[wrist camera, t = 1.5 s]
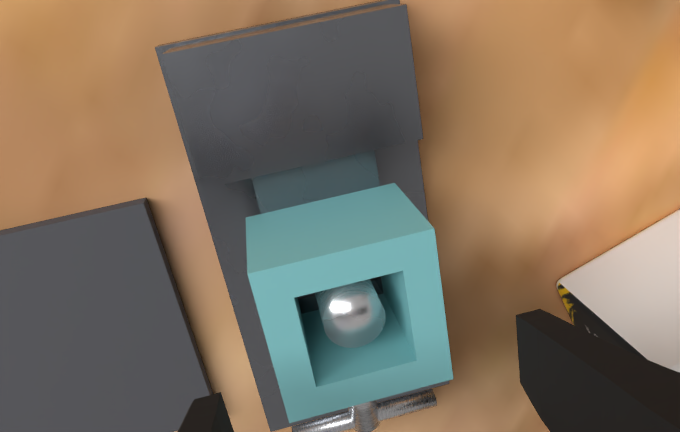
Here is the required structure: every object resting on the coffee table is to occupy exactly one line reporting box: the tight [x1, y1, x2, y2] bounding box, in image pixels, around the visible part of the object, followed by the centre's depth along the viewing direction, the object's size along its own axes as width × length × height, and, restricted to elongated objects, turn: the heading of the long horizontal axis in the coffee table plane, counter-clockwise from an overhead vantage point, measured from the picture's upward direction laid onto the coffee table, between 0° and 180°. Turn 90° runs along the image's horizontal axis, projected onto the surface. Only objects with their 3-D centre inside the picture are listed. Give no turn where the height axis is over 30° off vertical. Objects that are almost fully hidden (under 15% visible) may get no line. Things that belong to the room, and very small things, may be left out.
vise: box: [155, 0, 449, 432], centre depth 19 cm, size 16×8×6 cm, turn 10°
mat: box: [0, 198, 213, 432], centre depth 21 cm, size 10×10×1 cm
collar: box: [246, 183, 453, 423], centre depth 17 cm, size 5×5×4 cm
